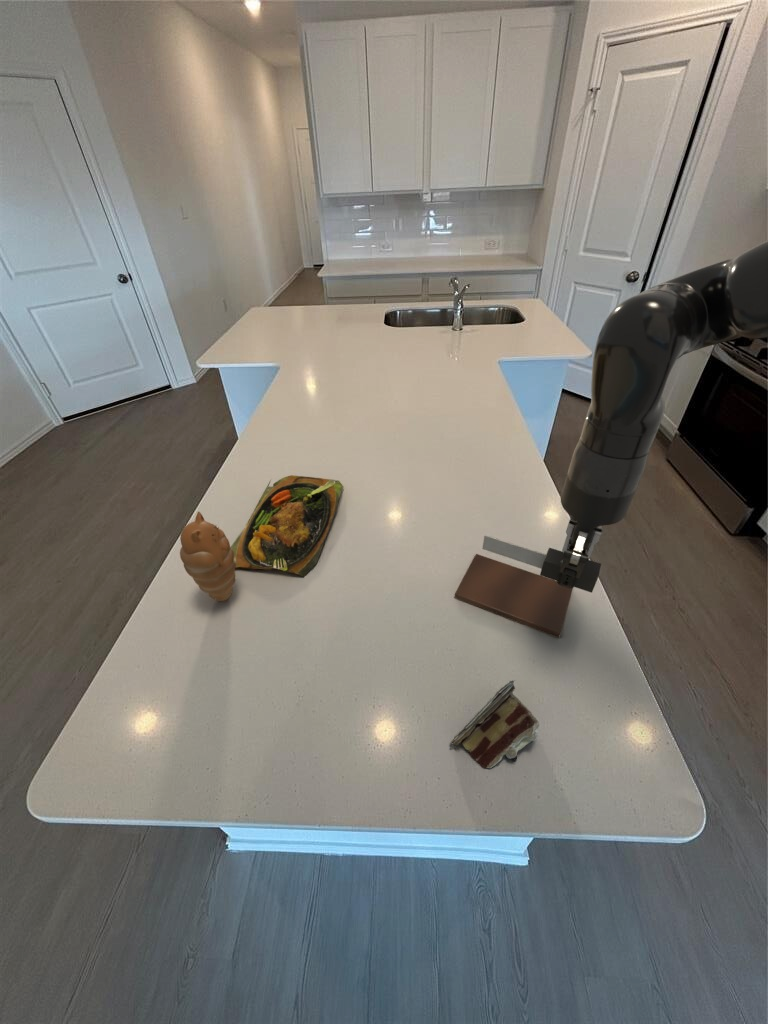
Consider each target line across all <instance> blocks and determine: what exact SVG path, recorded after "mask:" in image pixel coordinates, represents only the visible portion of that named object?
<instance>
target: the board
mask: <svg viewBox="0 0 768 1024" xmlns="http://www.w3.org/2000/svg"><path fill="white" fill-rule="evenodd" d="M573 590H574V588H567V587H564V586H561V585H559V584H558V583H557V581H556V580H553V579H550V578H547V577H544V576H541V575H540V574H537V573H534V572H531V571H528V570H525V569H523V568H519V567H516V566H514V565H511V564H508V563H504V562H501V561H499V560H495V559H493V558H490V557H487V556H484V555H481V554H479V553H475V554H474V556H473V558H472V560H471V562H470V564H469V566H468V568H467V570H466V572H465V573H464V575H463V577H462V579H461V581H460V583H459V585H458V587H457V588H456V591H455V593H454V599H456V600H459V601H462V602H463V603H467V604H469V605H472V606H474V607H477V608H480V609H482V610H485V611H487V612H490V613H493V614H495V615H498V616H501V617H503V618H506V619H509V620H511V621H514V622H516V623H519V624H521V625H524V626H527V627H528V628H532V629H534V630H536V631H540V632H542V633H545V634H546V635H547V634H548V635H550V636H552V637H555V638H557V639H559V638H560V636H561V634H562V631H563V626H564V623H565V619H566V616H567V611H568V608H569V604H570V601H571V597H572V594H573Z"/></svg>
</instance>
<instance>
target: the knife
mask: <svg viewBox="0 0 768 1024" xmlns="http://www.w3.org/2000/svg"><path fill="white" fill-rule="evenodd" d="M481 549H482V550H484V551H487V552H489V553H490V552H491V553H493V554H496V555H499V556H502V557H505V558H507V559H511V560H514V561H517V562H520V563H522V564H526V565H529V566H532V567H535V568H537V569H541V570H540V573H539V575H540V576H543V577H546V578H549V579H552V580H555V581H558V577H559V574H560V572H559V571H560V569H559V567H560V565H562V564H561V562H562V560H563V559H564V556H565V555H564V553H563V551H562V550H559V549H556V548H553V547H548V548H547V552H546V553H543V552H540V551H537V550H534V549H531V548H528V547H524V546H521V545H519V544H515V543H512V542H510V541H505V540H503V539H500V538H496V537H494V536H491V535H487V534H484V535H483V542H482V548H481ZM601 567H602V563H600V562H598V561H594V560H591V559H589V560H588V562H586V563H585V566H584V568H583V570H582V575H581V576H580V577H579V578H577V580H576V582H575V585H574V588H575V589H578V590H581V591H586V592H588V593H593V591H594V589H595V586H596V584H597V581H598V579H599V575H600V571H601Z"/></svg>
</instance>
